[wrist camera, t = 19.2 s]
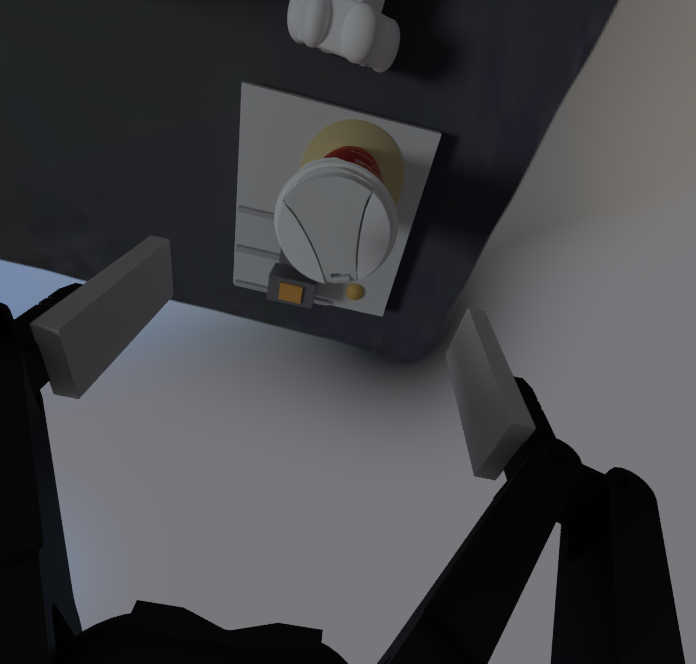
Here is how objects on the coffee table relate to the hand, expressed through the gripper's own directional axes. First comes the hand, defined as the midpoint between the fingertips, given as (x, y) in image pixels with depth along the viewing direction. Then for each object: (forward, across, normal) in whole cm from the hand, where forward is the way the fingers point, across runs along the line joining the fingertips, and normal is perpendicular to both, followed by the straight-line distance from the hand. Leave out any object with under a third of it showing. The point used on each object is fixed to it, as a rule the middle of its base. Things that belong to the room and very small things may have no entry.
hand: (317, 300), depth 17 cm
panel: (+26, -2, -5) cm, 26 cm away
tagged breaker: (+24, -4, -12) cm, 27 cm away
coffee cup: (+24, 0, 0) cm, 24 cm away
